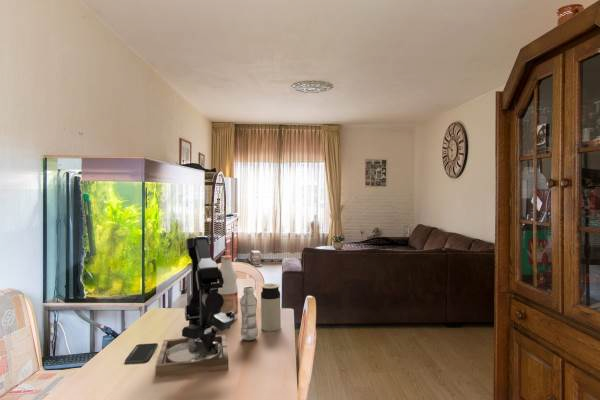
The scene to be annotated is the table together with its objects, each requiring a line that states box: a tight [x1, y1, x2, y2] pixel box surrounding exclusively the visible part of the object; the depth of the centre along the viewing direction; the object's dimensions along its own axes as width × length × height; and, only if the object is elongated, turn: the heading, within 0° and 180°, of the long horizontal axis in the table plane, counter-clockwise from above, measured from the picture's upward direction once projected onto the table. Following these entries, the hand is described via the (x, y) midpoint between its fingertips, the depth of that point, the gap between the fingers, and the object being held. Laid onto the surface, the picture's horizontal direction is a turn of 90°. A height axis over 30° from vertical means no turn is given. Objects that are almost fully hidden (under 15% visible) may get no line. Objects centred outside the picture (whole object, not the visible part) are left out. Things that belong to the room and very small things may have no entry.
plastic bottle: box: [239, 286, 259, 341], centre depth 152 cm, size 6×7×20 cm
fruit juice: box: [217, 255, 239, 321], centre depth 177 cm, size 9×9×28 cm
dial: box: [166, 338, 221, 363], centre depth 135 cm, size 18×18×5 cm
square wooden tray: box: [155, 334, 230, 378], centre depth 135 cm, size 22×22×4 cm
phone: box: [124, 342, 159, 365], centre depth 139 cm, size 8×1×15 cm
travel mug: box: [260, 282, 282, 332], centre depth 164 cm, size 8×8×18 cm
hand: (208, 351), depth 130 cm, fingers closed
